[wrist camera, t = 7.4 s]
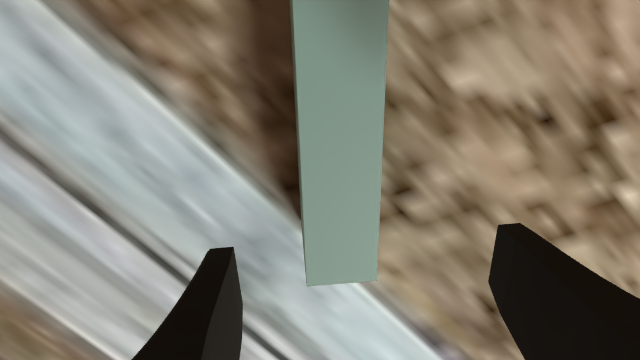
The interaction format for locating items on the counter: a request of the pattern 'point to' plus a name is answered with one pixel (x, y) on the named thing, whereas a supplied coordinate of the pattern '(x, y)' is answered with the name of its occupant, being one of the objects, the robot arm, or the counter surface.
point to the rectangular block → (339, 133)
